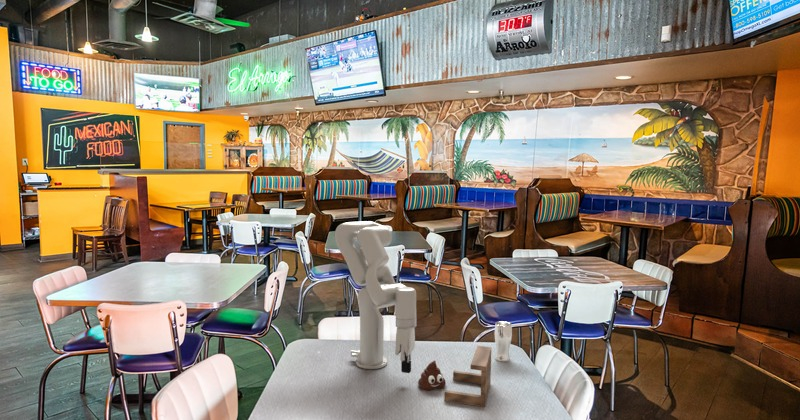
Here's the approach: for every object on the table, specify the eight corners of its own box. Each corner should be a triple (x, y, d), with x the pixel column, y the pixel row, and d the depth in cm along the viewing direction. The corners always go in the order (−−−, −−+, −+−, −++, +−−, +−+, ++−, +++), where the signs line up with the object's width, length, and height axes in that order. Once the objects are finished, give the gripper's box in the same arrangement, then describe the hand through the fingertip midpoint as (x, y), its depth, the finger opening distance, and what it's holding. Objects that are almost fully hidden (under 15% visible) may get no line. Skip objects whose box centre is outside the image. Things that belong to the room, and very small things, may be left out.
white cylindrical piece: (511, 363, 181) (512, 326, 180) (494, 361, 182) (494, 325, 181) (510, 356, 188) (511, 321, 187) (493, 355, 189) (494, 320, 188)
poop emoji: (440, 379, 165) (440, 355, 164) (449, 389, 157) (450, 364, 156) (414, 383, 162) (415, 358, 161) (423, 393, 154) (423, 367, 153)
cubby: (444, 400, 149) (445, 361, 148) (453, 378, 166) (454, 343, 165) (485, 407, 145) (486, 366, 144) (490, 383, 162) (491, 347, 161)
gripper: (402, 315, 169) (402, 363, 169) (389, 327, 154) (389, 378, 155) (421, 317, 167) (421, 365, 167) (410, 328, 152) (410, 381, 153)
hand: (406, 371), depth 161 cm, fingers closed
